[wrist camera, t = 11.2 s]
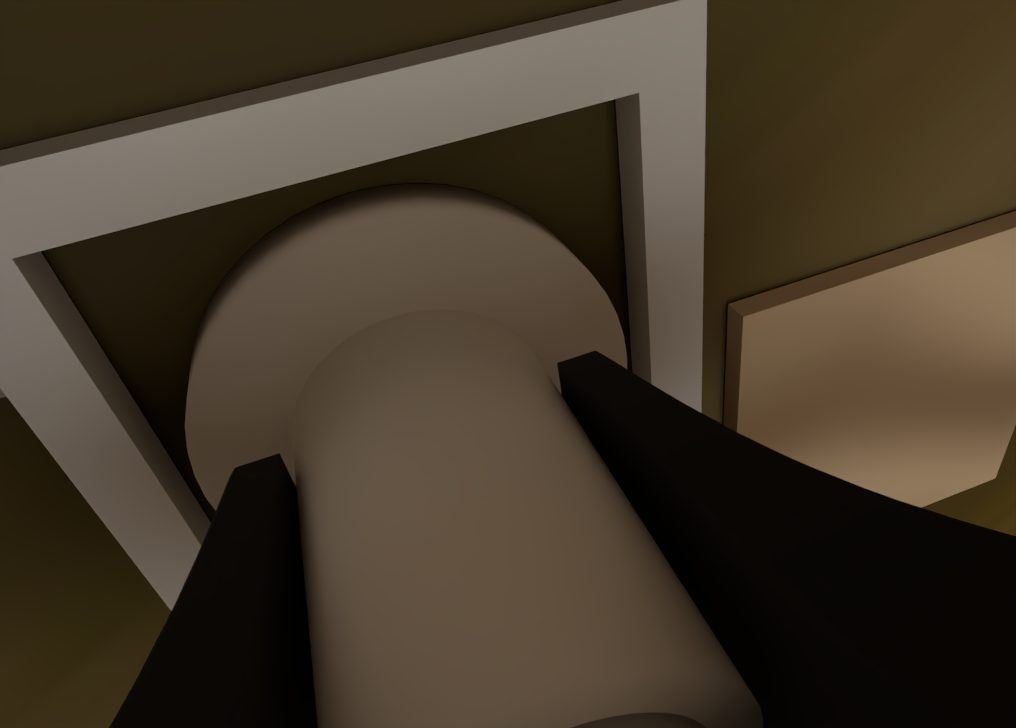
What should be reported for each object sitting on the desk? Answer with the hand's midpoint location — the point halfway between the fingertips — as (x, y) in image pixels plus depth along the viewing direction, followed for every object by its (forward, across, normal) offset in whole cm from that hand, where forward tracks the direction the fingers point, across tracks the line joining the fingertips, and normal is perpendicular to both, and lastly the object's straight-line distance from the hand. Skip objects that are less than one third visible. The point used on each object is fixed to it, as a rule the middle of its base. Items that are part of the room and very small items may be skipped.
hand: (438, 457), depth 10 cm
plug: (+2, 0, 0) cm, 2 cm away
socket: (+2, 0, 0) cm, 2 cm away
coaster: (+2, -10, +4) cm, 11 cm away
